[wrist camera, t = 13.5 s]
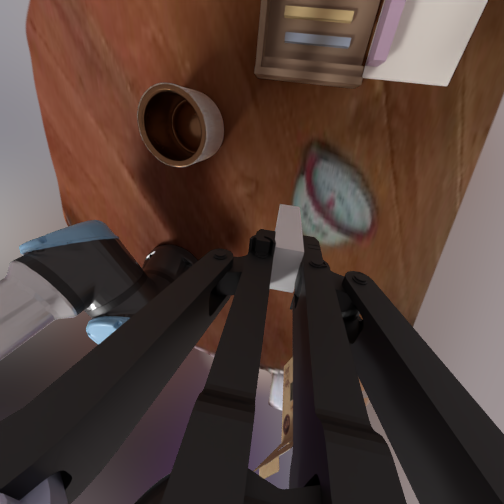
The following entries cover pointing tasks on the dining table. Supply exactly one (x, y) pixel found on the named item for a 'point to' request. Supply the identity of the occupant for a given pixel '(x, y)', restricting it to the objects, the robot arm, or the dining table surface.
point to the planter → (179, 124)
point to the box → (286, 425)
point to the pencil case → (314, 40)
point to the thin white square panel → (421, 40)
